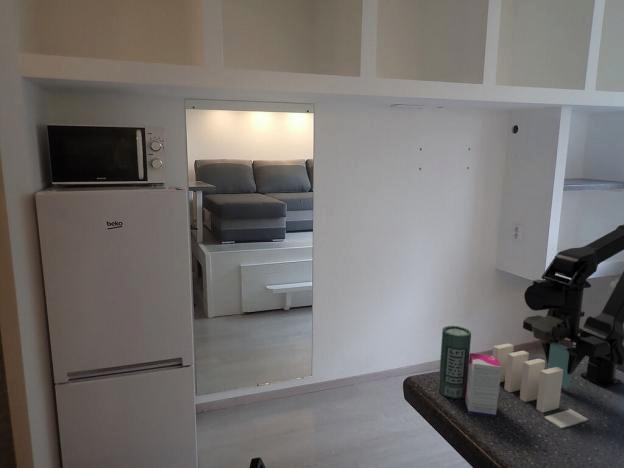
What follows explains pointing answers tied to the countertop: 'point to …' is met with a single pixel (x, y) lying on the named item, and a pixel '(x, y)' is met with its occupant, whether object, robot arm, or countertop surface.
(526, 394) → the domino
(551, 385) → the domino
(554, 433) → the countertop surface
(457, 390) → the can
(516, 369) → the domino
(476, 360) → the supplement box
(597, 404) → the countertop surface
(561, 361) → the end domino
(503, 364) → the domino
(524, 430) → the countertop surface
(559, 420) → the pad
